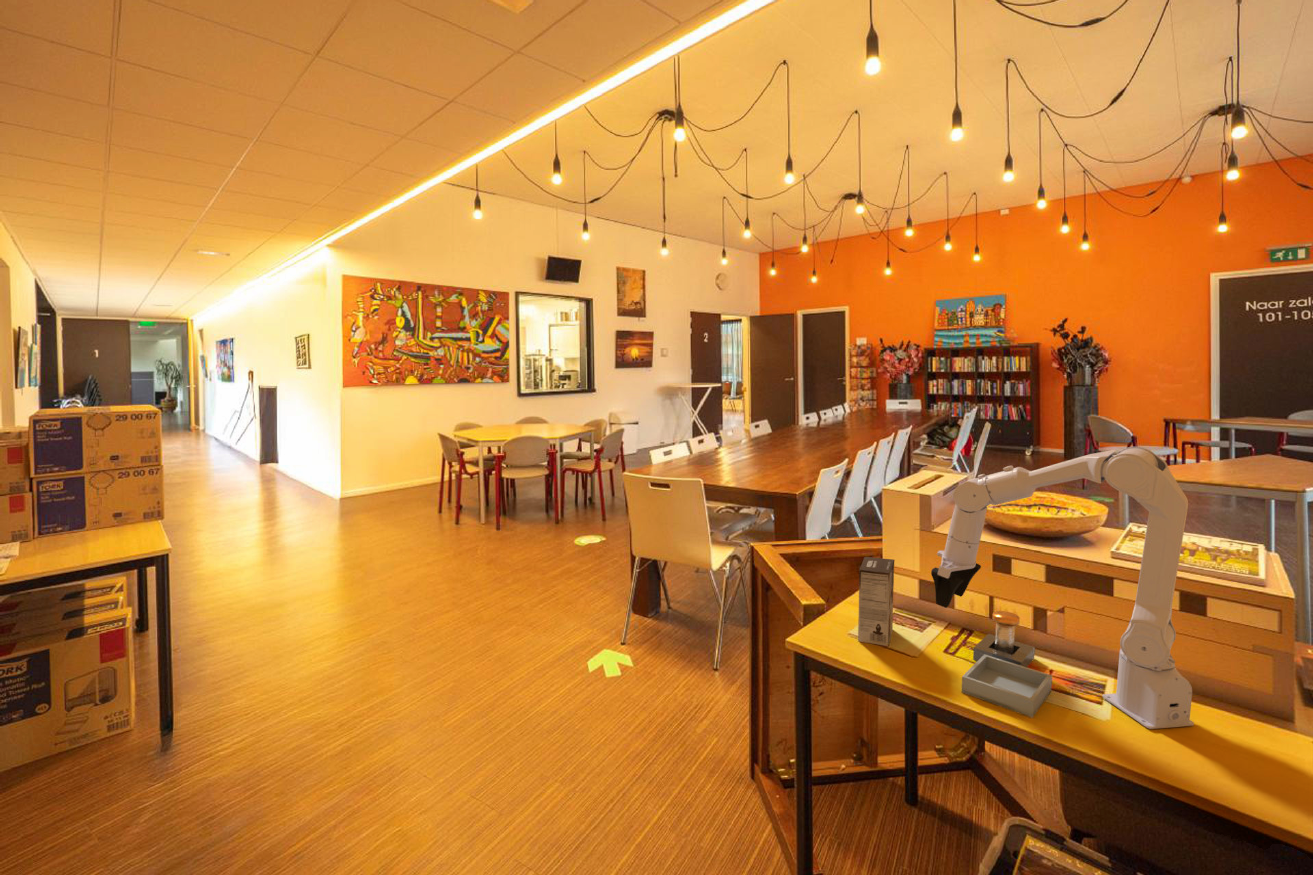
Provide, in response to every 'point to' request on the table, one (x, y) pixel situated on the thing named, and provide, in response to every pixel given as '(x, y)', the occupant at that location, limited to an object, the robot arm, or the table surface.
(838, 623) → the table surface
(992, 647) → the grey square socket block
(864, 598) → the coffee box
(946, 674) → the table surface
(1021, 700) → the tray
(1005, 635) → the pin
